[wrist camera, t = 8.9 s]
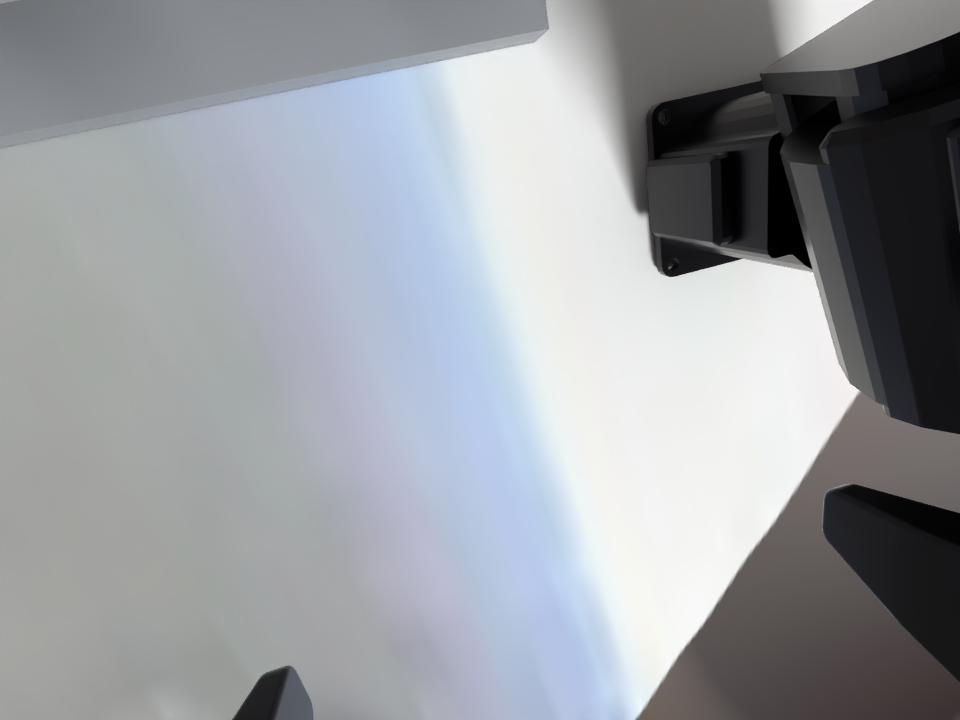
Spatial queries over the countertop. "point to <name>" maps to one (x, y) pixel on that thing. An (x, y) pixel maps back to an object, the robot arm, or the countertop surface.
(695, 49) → the countertop surface
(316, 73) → the plate
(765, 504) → the countertop surface
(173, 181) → the countertop surface
